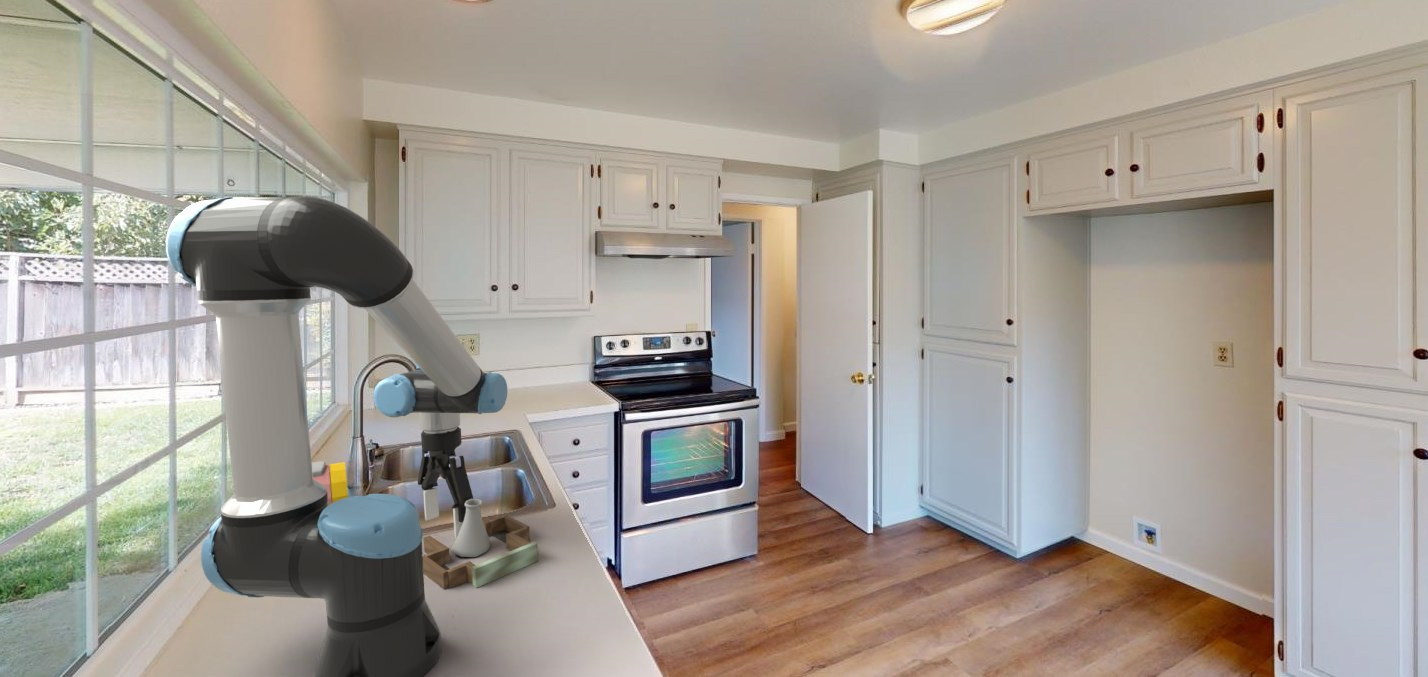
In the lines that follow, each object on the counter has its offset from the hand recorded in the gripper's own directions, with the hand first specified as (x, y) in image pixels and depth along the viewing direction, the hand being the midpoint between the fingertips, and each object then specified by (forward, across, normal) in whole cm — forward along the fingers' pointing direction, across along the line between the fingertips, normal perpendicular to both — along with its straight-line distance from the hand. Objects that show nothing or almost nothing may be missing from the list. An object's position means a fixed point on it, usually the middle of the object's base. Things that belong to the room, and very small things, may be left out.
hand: (446, 526), depth 118 cm
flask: (+2, -10, 0) cm, 10 cm away
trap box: (+2, -14, 0) cm, 14 cm away
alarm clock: (+2, +13, +18) cm, 22 cm away
